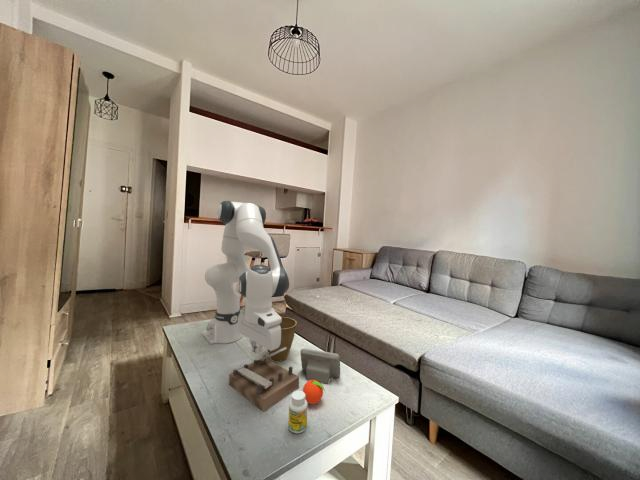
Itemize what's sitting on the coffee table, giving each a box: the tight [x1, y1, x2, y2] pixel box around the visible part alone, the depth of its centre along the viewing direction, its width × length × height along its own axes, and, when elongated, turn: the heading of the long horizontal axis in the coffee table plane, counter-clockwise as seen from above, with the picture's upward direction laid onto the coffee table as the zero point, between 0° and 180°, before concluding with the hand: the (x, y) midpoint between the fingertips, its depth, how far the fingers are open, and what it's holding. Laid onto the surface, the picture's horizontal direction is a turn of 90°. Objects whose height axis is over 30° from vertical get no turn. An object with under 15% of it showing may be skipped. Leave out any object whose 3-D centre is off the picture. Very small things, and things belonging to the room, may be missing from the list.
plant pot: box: [266, 316, 297, 363], centre depth 109 cm, size 15×15×16 cm
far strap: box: [257, 347, 287, 362], centre depth 93 cm, size 16×3×1 cm
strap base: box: [228, 354, 300, 412], centre depth 89 cm, size 20×16×7 cm
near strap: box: [236, 366, 272, 389], centre depth 86 cm, size 16×3×1 cm, turn 51°
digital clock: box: [299, 347, 341, 385], centre depth 96 cm, size 16×9×11 cm, turn 64°
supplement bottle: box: [288, 390, 308, 434], centre depth 71 cm, size 5×5×10 cm
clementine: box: [302, 380, 326, 405], centre depth 82 cm, size 8×7×7 cm
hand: (256, 352), depth 84 cm, fingers closed
